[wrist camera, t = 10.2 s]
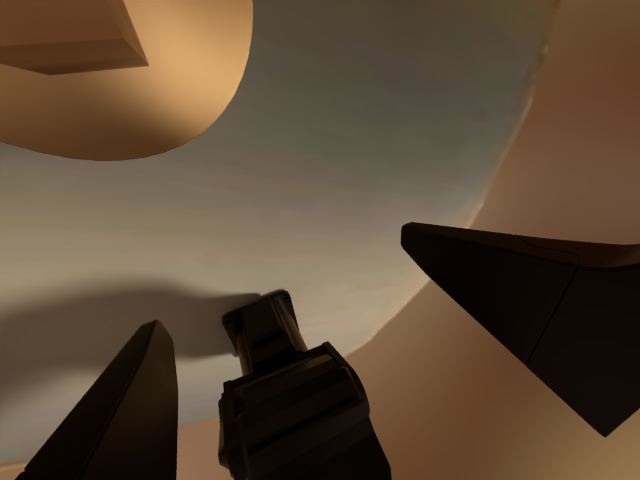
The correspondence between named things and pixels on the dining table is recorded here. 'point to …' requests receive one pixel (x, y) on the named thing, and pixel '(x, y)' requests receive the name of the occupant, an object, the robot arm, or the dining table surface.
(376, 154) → the dining table surface
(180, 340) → the dining table surface
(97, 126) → the lid
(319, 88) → the dining table surface
